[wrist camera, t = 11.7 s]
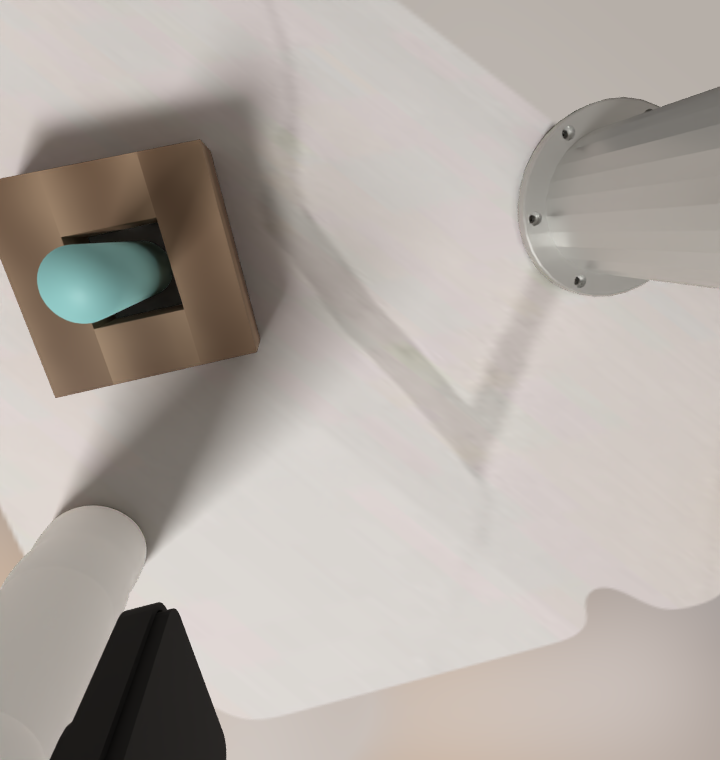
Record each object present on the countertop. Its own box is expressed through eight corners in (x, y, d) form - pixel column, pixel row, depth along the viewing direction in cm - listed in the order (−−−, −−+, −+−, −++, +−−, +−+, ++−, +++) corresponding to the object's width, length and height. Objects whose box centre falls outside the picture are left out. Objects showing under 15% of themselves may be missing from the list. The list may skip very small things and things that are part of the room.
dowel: (163, 235, 33) (105, 236, 22) (179, 289, 34) (131, 314, 23) (109, 247, 33) (24, 253, 22) (126, 300, 34) (54, 331, 23)
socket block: (210, 150, 32) (199, 139, 28) (260, 339, 35) (256, 351, 31) (10, 190, 31) (-29, 184, 27) (81, 380, 34) (55, 398, 31)
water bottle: (38, 503, 36) (-441, 1018, 12) (145, 498, 37) (-112, 970, 13) (52, 590, 38) (-343, 1184, 14) (153, 583, 39) (-60, 1131, 15)
